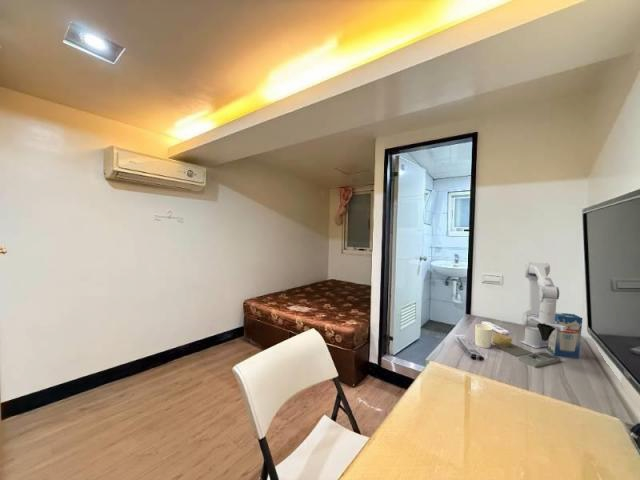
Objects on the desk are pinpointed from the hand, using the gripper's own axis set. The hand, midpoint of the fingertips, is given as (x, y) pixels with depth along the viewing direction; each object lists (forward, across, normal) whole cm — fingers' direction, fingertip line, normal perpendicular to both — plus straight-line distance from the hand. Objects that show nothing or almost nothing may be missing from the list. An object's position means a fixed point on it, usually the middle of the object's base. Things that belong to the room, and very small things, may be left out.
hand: (544, 340), depth 126 cm
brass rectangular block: (+7, -15, -3) cm, 17 cm away
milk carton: (+10, -2, +18) cm, 20 cm away
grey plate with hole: (+10, -1, -1) cm, 10 cm away
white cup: (+10, -20, -14) cm, 27 cm away
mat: (+10, -13, -3) cm, 16 cm away
